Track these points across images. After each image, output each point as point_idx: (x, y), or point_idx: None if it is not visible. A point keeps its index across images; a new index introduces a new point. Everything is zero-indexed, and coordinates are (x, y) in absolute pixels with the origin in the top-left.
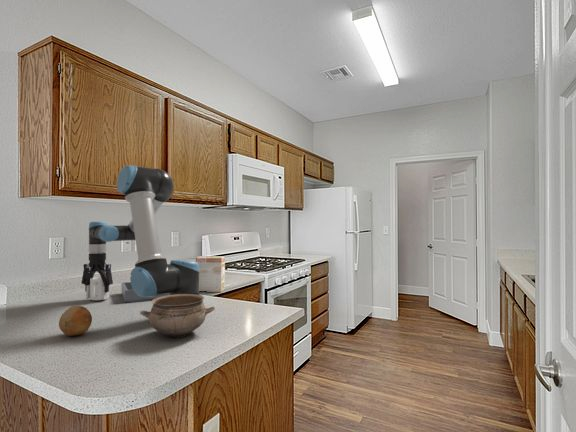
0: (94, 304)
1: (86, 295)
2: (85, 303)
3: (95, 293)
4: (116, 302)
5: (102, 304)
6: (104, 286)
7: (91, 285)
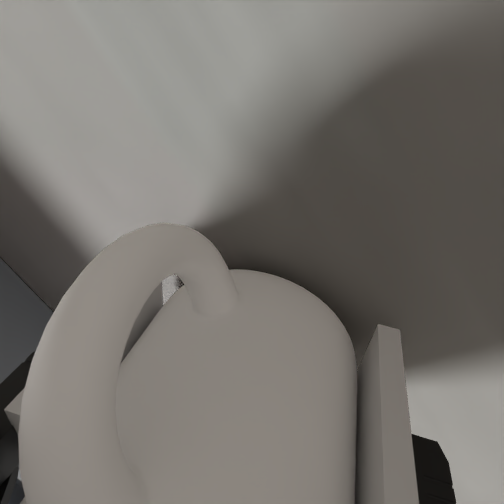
0: (171, 120)
1: (399, 365)
2: (334, 179)
3: (207, 324)
4: (23, 218)
5: (78, 124)
6: (14, 411)
7: (250, 499)
